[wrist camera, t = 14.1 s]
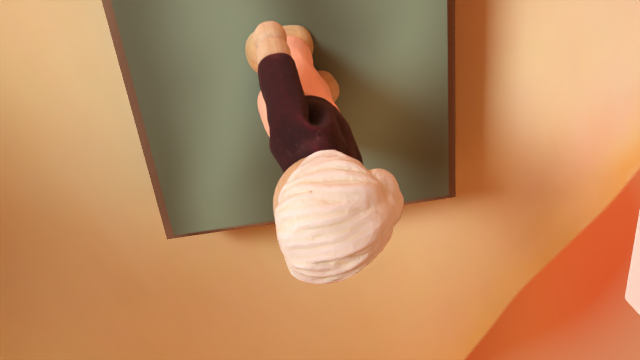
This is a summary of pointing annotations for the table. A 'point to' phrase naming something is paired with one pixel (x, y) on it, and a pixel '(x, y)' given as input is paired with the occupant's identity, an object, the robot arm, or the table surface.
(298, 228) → the grandmother figurine
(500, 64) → the table surface
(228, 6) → the sage green square panel
